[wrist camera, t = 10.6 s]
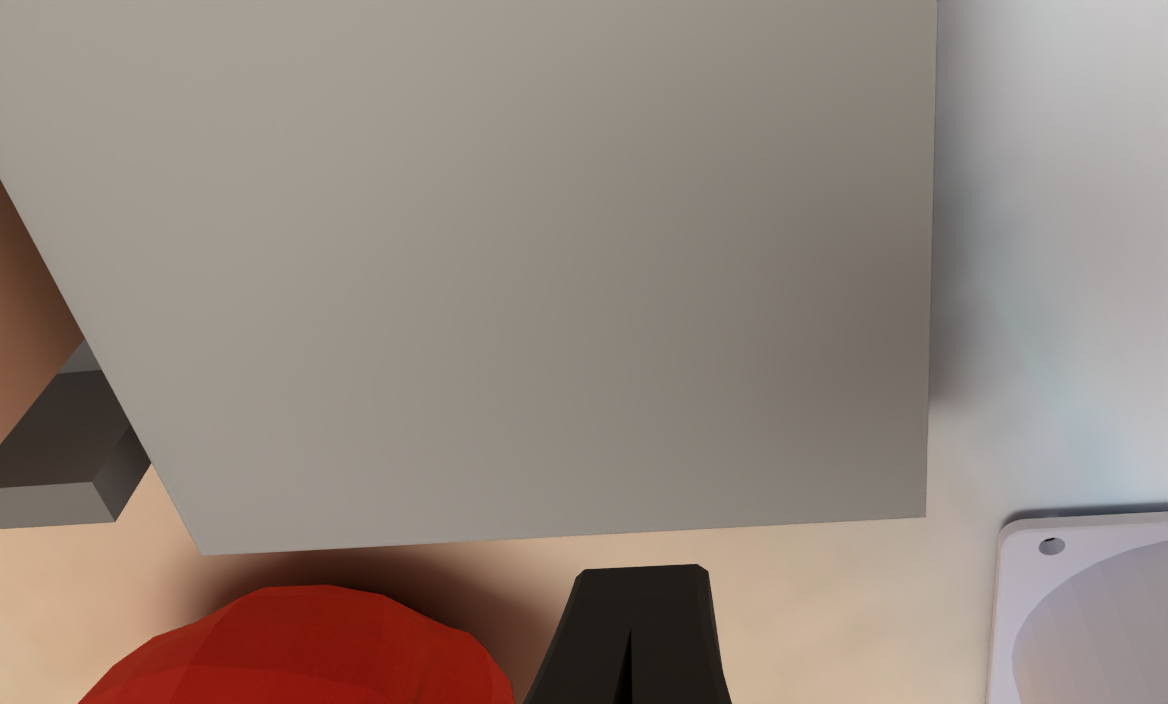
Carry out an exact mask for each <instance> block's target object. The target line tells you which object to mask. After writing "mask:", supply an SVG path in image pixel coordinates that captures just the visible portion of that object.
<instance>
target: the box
mask: <svg viewBox="0 0 1168 704" xmlns="http://www.w3.org/2000/svg"><path fill="white" fill-rule="evenodd" d="M151 463H152V462H151V461H150V459H149V457H148V455H147V453H146V451H145V449H144V447H143V446H142V444H141V442H140V440H139V438H138V436H137V434H136V432H135V431H134V429H133V427H132V425H131V423H130V421H129V419H128V417H127V416H126V414H125V412H124V410H123V408H122V406H121V404H120V402H119V401H118V399H117V397H116V395H115V393H114V391H113V389H112V387H111V386H110V384H109V382H108V380H107V378H106V376H105V374H104V372H103V371H102V369H101V367H100V365H99V363H98V361H97V359H96V357H95V356H94V354H93V352H92V350H91V348H90V346H89V344H88V342H87V341H86V339H84V340H83V341H82V343H81V344H80V345H79V346H78V348H77V349H76V350H75V351H74V353H73V354H72V355H71V356H70V358H69V359H68V360H67V361H66V363H65V364H64V365H63V366H62V368H61V369H60V370H59V371H58V373H57V374H56V375H55V376H54V378H53V379H52V380H51V381H50V383H49V384H48V385H47V386H46V388H45V389H44V390H43V392H42V393H41V394H40V395H39V397H38V398H37V399H36V400H35V402H34V403H33V404H32V405H31V407H30V408H29V409H28V410H27V412H26V413H25V414H24V415H23V417H22V418H21V419H20V420H19V422H18V423H17V424H16V425H15V427H14V428H13V429H12V430H11V432H10V433H9V434H8V435H7V437H6V438H5V439H4V440H3V442H2V443H1V444H0V529H9V528H26V527H42V526H59V525H75V524H92V523H108V522H116V520H117V518H118V517H119V515H120V513H121V512H122V510H123V509H124V507H125V505H126V504H127V502H128V500H129V499H130V497H131V495H132V494H133V492H134V491H135V489H136V487H137V486H138V484H139V482H140V481H141V479H142V478H143V476H144V474H145V473H146V471H147V469H148V468H149V466H150V464H151Z"/></svg>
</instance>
